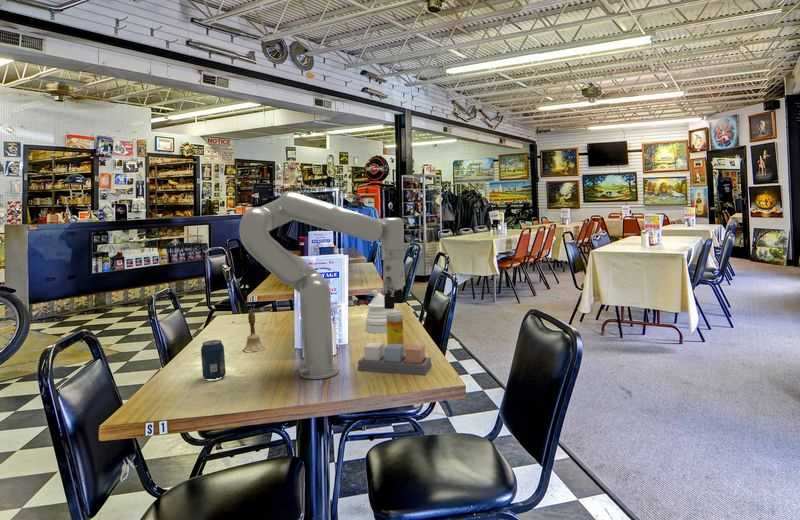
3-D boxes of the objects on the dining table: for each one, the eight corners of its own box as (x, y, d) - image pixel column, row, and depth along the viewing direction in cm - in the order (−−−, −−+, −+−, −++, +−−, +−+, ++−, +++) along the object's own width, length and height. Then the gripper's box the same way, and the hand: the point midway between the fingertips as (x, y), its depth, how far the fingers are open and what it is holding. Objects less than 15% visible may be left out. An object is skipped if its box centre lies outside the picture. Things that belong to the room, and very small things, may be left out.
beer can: (402, 353, 172) (400, 313, 171) (386, 352, 174) (384, 313, 172) (405, 348, 178) (403, 309, 177) (389, 347, 180) (388, 309, 178)
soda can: (203, 376, 154) (200, 341, 153) (225, 373, 156) (223, 338, 155) (202, 383, 147) (199, 346, 146) (226, 379, 150) (223, 343, 149)
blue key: (404, 357, 157) (403, 344, 157) (399, 362, 152) (399, 348, 152) (389, 356, 159) (389, 343, 158) (384, 361, 154) (384, 347, 153)
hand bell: (265, 350, 182) (263, 310, 180) (243, 353, 179) (240, 312, 177) (263, 345, 189) (261, 307, 188) (242, 348, 186) (239, 309, 185)
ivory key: (384, 356, 159) (383, 343, 159) (379, 360, 154) (378, 347, 154) (369, 355, 161) (369, 342, 160) (364, 359, 156) (363, 346, 155)
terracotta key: (424, 358, 155) (424, 345, 154) (421, 363, 150) (420, 350, 149) (409, 357, 156) (409, 344, 156) (405, 362, 151) (405, 349, 151)
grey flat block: (431, 365, 156) (431, 357, 156) (425, 375, 148) (424, 365, 147) (367, 361, 163) (367, 353, 163) (357, 370, 155) (357, 361, 154)
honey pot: (373, 335, 200) (372, 293, 198) (361, 329, 211) (359, 290, 210) (399, 330, 206) (398, 290, 205) (386, 325, 217) (385, 287, 216)
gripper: (395, 257, 145) (396, 311, 146) (411, 252, 161) (412, 301, 163) (372, 257, 147) (374, 310, 149) (390, 252, 163) (391, 300, 165)
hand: (394, 305), depth 156 cm, fingers open, 9 cm apart
